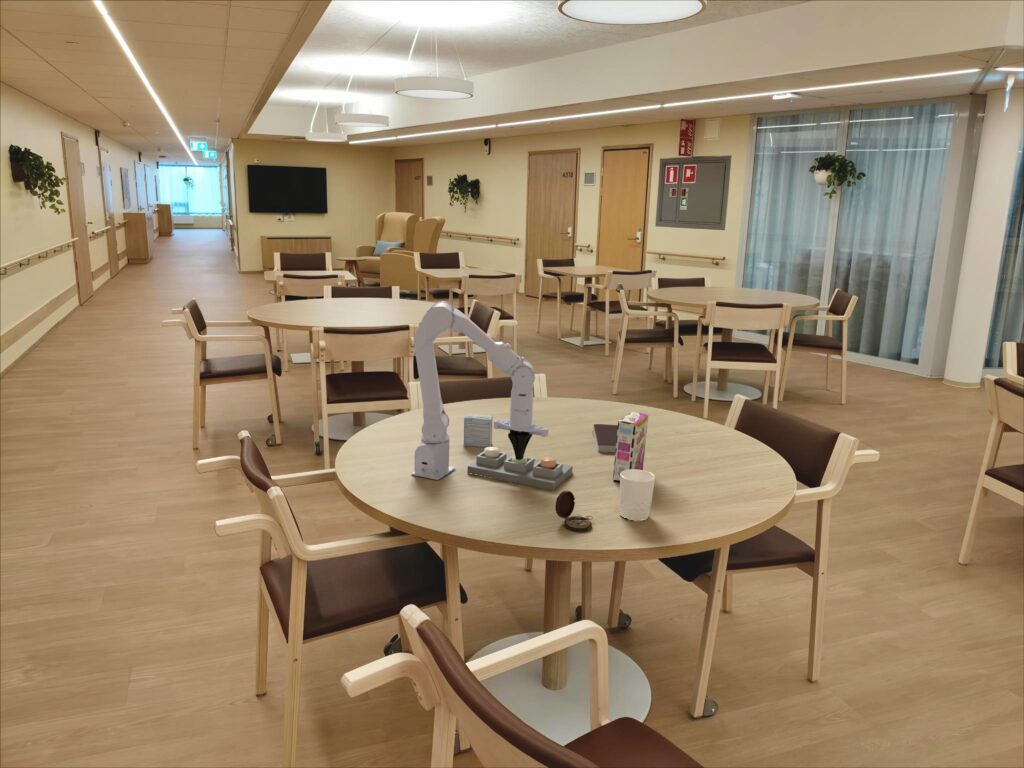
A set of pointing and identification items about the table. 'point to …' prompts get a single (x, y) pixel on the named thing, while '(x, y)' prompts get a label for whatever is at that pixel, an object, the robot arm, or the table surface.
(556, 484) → the button board
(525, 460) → the sage green button
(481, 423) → the medicine box
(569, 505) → the compass
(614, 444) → the book
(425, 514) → the table surface
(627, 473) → the white cup
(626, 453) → the candy bar box
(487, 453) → the off-white button
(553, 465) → the terracotta button
